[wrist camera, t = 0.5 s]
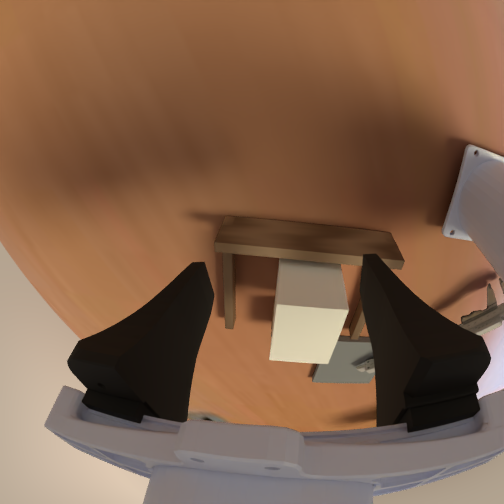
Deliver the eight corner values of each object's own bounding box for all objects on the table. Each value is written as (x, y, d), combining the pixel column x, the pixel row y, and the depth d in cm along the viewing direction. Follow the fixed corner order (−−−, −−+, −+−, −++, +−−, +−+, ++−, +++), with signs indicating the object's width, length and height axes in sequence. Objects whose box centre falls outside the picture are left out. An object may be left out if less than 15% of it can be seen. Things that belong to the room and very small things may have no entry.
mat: (393, 337, 30) (394, 343, 29) (368, 378, 35) (369, 383, 34) (327, 335, 30) (328, 340, 30) (312, 377, 35) (312, 382, 35)
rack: (390, 232, 22) (404, 260, 19) (355, 328, 29) (360, 358, 26) (225, 215, 23) (214, 242, 20) (227, 317, 30) (220, 347, 27)
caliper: (500, 273, 22) (528, 313, 17) (501, 279, 23) (527, 318, 18) (354, 365, 31) (362, 410, 26) (359, 368, 32) (366, 413, 27)
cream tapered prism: (335, 240, 24) (348, 310, 17) (322, 294, 27) (327, 364, 20) (281, 235, 24) (276, 304, 17) (275, 289, 27) (269, 359, 21)
